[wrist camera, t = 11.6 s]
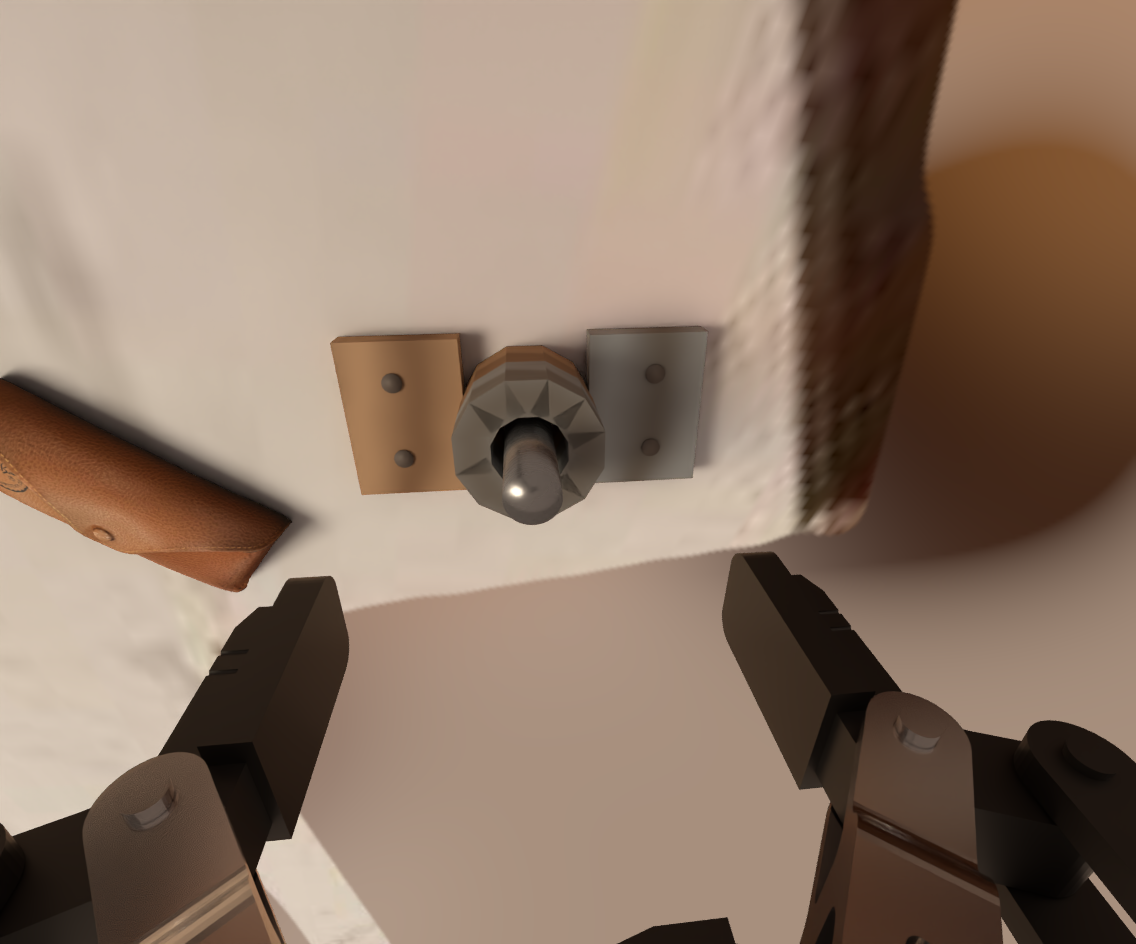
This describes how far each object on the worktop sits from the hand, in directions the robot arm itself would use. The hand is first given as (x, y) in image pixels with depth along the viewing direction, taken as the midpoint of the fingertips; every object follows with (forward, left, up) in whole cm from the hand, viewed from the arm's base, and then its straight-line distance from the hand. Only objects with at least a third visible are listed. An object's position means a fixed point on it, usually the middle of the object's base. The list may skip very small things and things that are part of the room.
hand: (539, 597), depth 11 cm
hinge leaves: (0, -5, -25) cm, 26 cm away
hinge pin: (0, -5, -25) cm, 26 cm away
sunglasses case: (-26, -10, -26) cm, 38 cm away
